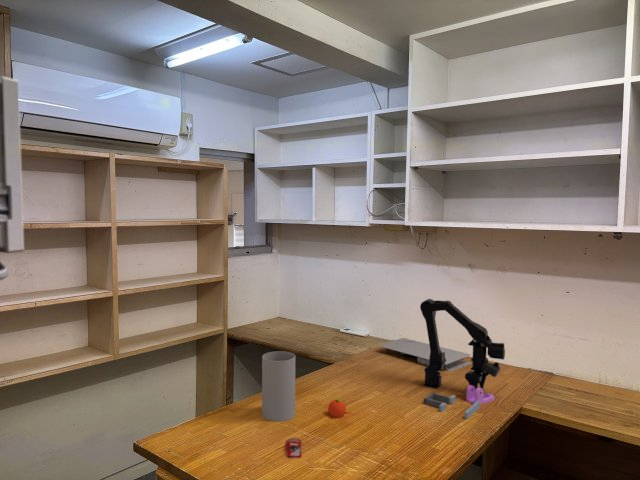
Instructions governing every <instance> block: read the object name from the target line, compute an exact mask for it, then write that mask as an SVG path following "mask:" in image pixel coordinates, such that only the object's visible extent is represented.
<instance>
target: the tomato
mask: <svg viewBox="0 0 640 480" xmlns="http://www.w3.org/2000/svg"><path fill="white" fill-rule="evenodd" d="M345 403H346V402H345V400H344V399H341V398H339V399H334V400H332V401H330V403H329V404H328V406H327V411H328V415H330V417H332V418H337V419H339V418H342V417H344V415H345V414H346V412H347V411H346V410H347V407H346V404H345Z"/></svg>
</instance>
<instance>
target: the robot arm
mask: <svg viewBox="0 0 640 480" xmlns="http://www.w3.org/2000/svg"><path fill="white" fill-rule="evenodd" d="M419 308H420V311H421V315H422V316H423V318H424V321H425V325H426V331H427V337H428V344H429V345H430V358H429V365H426V367H425V368H424V370H423V371H424V374H425V375H424V383H423V386H425V387H430V388H433V389H437V388H439V387H440V386H442V385H443V383H442V375H441V370H442V367H443V366H444V365H445V362H446V358H445V352H443V353H442V352H441V350H440V347H441V346H440V342H439V334H438V329H437V323H436V321H437V320H436V316H437V312H438V311H439V312H441V311H445V312H446V313H447V314H449V315H450V316H451V317H452V318H454V320H456V322H458V323H459V324H460V325H461V326H462V327H463V328H465V330H466V331H467V332H468V334H469V336H470V337H471V339H472V340H470V342H468V343H467V344H468V346H471V347H472V357H471V358H470V362H471V361H472V362H471V365H472V366H471V367H470V370H468V371H467V372H466V373H465V374H464V379H465V380H466V381H467V382H468V386H469V385H473V386H474V387H475V391H476V389H477V388H481V389H483V388H484V386H485V382H486V379H487V377H488V376H489V375H491V377H493V378H496V377H497V376H498V375H499V372H500V371H501V367H500V363H498V362H497V361H495V362H494V363H493V362H489V359H488V357H489V358H490V359H496V360H505V356H506V348H505V343H504V342H493V340H492V339H491V337H490V335H489V333H488V332H489V331H488V330H487V328H486V327H484V326H483V325H481V324H480V323H477V322H475V321H473V320H472V319H471V318H470V317H469V316H467V315H466V314H465V313H464V312H462V311H461V310H460V309H459V308H457V306H455V305H454V304H453V302H452V301H451V300H434V299H432V298H427V299H425V300H423V301H422V302H421V303H420V305H419ZM487 356H488V357H487Z"/></svg>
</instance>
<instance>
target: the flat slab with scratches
mask: <svg viewBox="0 0 640 480" xmlns="http://www.w3.org/2000/svg"><path fill="white" fill-rule="evenodd" d="M377 347H381V348H385V349H389V350H391V351H392V350H393V351H396V352H398V353H400V354H401V355H402V356H403V355H411V356H415V357H416V358H417V359H416V360H417V363H418V364H419V363H420V364H423V365H426V366H428V365H429V358H430V345H429V343H426V342H422V341H418V340H414V339H409V338H405V337H402V338H398V339H394V340H392V341H388V342H384V343H381V344H378V345H377ZM440 350H441V352H442V353H443V352H445V358H446V362H445V365H444V366H443V367H442V369H441V370H444V368H445V370H446V371H448V372H453V371H456V370H458V368H459V369H461V368H463V366H464V367H467V366H469V364H470V365H472V362H471V361H467V360H462V359H464V358H466V357H470V356H471V355H472V356H473V353H472V354H471V353H467V352H463V351H459V350H455V349H451V348H447V347H442V346H440ZM466 365H467V366H466ZM448 369H449V370H450V371H449V370H448Z"/></svg>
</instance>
